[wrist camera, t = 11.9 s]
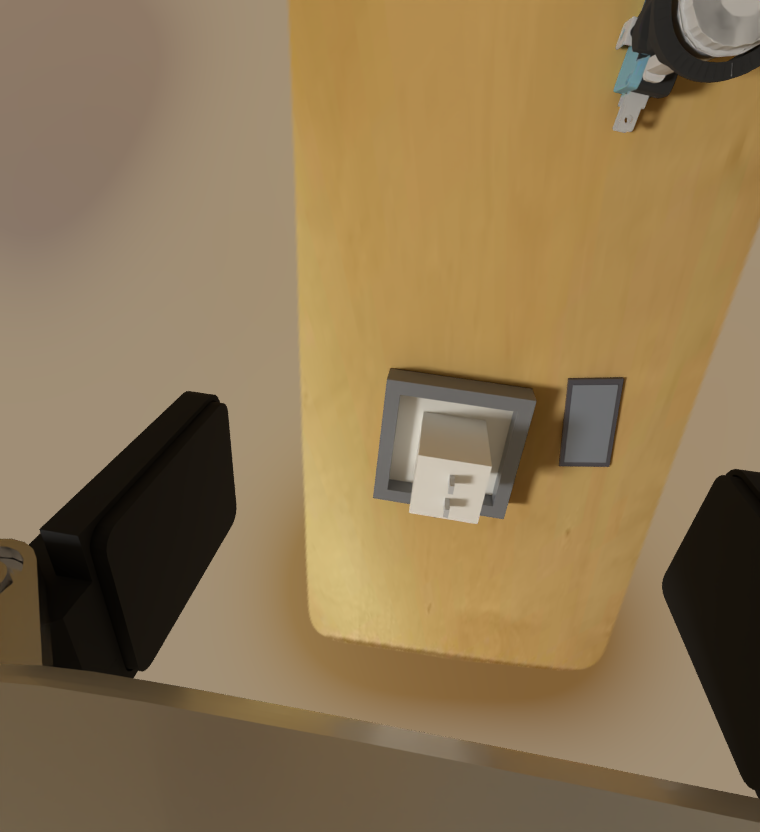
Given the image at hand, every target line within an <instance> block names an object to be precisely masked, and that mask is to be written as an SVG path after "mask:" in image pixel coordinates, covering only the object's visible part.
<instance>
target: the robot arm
mask: <svg viewBox="0 0 760 832" xmlns="http://www.w3.org/2000/svg"><path fill="white" fill-rule="evenodd" d="M233 475H234V474H233V463H232V452H231V441H230V430H229V419H228V410H227V406H226V405H225V404H224V403H220V401H219V399H218V397H217V396H216V395H212V394H204V393H198V392H191V391H186V392H185V393H183V394H182V395H181V396H180V397H179V398H178V399H177V400H176V401H175V402H174V403H173V404H172V405H171V406H169V407H168V408H167V409H166V410H165V411H164V412H163V413H162V414H161V415H160V416H159V417H158V418H157V419H156V420H155V421H154V422H153V423H151V424H150V425H149V426H148V427H147V428H146V429H145V430H144V431H143V432H142V433H141V434H140V435H139V436H138V437H137V438H136V439H134V441H132V442H131V443H130V444H129V445H128V446H127V447H126V448H125V449H124V450H123V451H122V452H121V453H120V454H119V455H118V456H116V457H115V458H114V459H113V460H112V461H111V462H110V463H109V464H108V465H107V466H106V467H105V468H104V469H103V470H102V471H101V472H100V473H98V474H97V475H96V476H95V477H94V478H93V479H92V480H91V481H90V482H89V483H88V484H87V485H86V486H85V487H84V488H83V489H82V490H80V492H78V493H77V494H76V495H75V496H74V497H73V498H72V499H71V500H70V501H69V502H68V503H67V504H66V505H65V506H64V507H63V508H61V509H60V510H59V511H58V512H57V513H56V514H55V515H54V516H53V517H52V518H51V519H50V520H49V521H48V522H47V523H46V524H45V525H43V526H42V527H41V528H40V534H39V535H38V536H37V537H36V538H35V539H34V540H33V541H32V542H31V543H30V544H29V545H28V544H26V543H25V542H22V541H18V540H14V539H0V832H760V472H753V471H746V470H739V469H734V470H731V471H729V472H728V473H727V474H726V475H721V476H719V477H718V478H716V480H715V481H714V483H713V485H712V487H711V488H710V490H709V492H708V494H707V496H706V498H705V500H704V502H703V503H702V505H701V507H700V509H699V511H698V513H697V515H696V517H695V519H694V520H693V522H692V525H691V526H690V528H689V530H688V532H687V534H686V536H685V537H684V539H683V541H682V543H681V545H680V547H679V549H678V550H677V552H676V554H675V556H674V558H673V560H672V562H671V564H670V566H669V568H668V570H667V571H666V573H665V575H664V578H663V582H662V590H663V594H664V598H665V600H666V602H667V605H668V607H669V609H670V612H671V614H672V616H673V619H674V621H675V623H676V626H677V628H678V630H679V633H680V635H681V637H682V640H683V642H684V644H685V647H686V649H687V651H688V654H689V656H690V658H691V660H692V663H693V665H694V667H695V670H696V672H697V675H698V677H699V679H700V681H701V684H702V686H703V689H704V691H705V693H706V695H707V698H708V700H709V703H710V705H711V707H712V709H713V711H714V714H715V716H716V719H717V721H718V723H719V726H720V728H721V730H722V733H723V735H724V737H725V740H726V742H727V744H728V747H729V749H730V751H731V754H732V756H733V758H734V761H735V763H736V765H737V768H738V770H739V772H740V775H741V776H742V778H743V780H744V782H745V783H746V784H747V786H748V787H750V788H752V789H753V790H755V791H756V794H757V796H758V798H759V799H758V798H753V797H748V796H743V795H738V794H733V793H728V792H723V791H718V790H713V789H708V788H703V787H698V786H693V785H688V784H683V783H678V782H673V781H668V780H663V779H658V778H653V777H648V776H643V775H638V774H633V773H628V772H623V771H618V770H614V769H608V768H604V767H598V766H593V765H588V764H583V763H578V762H573V761H568V760H563V759H558V758H552V757H547V756H542V755H537V754H532V753H527V752H522V751H517V750H511V749H507V748H501V747H496V746H491V745H485V744H481V743H476V742H471V741H465V740H460V739H455V738H450V737H444V736H440V735H435V734H429V733H424V732H418V731H413V730H409V729H403V728H398V727H393V726H388V725H383V724H378V723H373V722H367V721H362V720H357V719H352V718H346V717H341V716H336V715H330V714H325V713H320V712H315V711H309V710H303V709H299V708H293V707H288V706H283V705H278V704H272V703H267V702H262V701H256V700H251V699H246V698H240V697H235V696H230V695H224V694H219V693H214V692H209V691H204V690H198V689H192V688H186V687H180V686H174V685H169V684H163V683H157V682H151V681H145V680H139V679H133V678H134V676H135V675H136V673H137V671H144V670H146V669H147V668H148V667H149V666H150V665H151V663H152V662H153V660H154V658H155V657H156V655H157V653H158V651H159V650H160V648H161V646H162V645H163V643H164V641H165V639H166V638H167V636H168V634H169V632H170V631H171V629H172V627H173V626H174V624H175V622H176V621H177V619H178V617H179V615H180V614H181V612H182V610H183V609H184V607H185V605H186V603H187V602H188V600H189V598H190V596H191V595H192V593H193V591H194V590H195V588H196V586H197V584H198V583H199V581H200V579H201V578H202V576H203V574H204V572H205V571H206V569H207V567H208V566H209V564H210V562H211V561H212V559H213V557H214V555H215V554H216V552H217V550H218V548H219V547H220V545H221V543H222V542H223V540H224V538H225V537H226V535H227V533H228V531H229V530H230V528H231V526H232V524H233V522H234V519H235V515H236V496H235V485H234V476H233Z"/></svg>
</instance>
